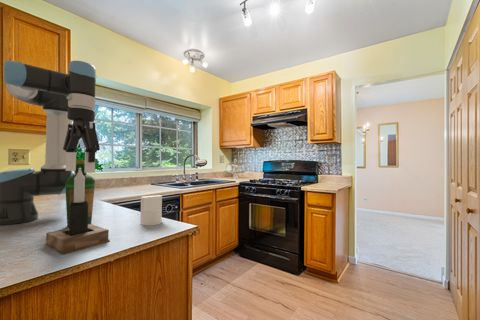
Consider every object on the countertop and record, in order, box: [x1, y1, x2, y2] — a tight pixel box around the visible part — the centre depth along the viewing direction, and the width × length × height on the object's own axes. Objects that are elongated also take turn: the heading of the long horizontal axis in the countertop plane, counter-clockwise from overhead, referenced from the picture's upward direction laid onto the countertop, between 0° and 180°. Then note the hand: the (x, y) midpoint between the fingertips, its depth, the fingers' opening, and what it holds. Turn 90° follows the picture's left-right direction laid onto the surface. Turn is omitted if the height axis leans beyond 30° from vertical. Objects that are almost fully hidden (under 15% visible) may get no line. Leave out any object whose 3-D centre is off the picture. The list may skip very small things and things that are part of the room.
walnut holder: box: [44, 223, 110, 255], centre depth 75 cm, size 14×14×4 cm
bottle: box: [65, 159, 96, 227], centre depth 96 cm, size 11×11×28 cm
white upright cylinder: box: [139, 194, 163, 226], centre depth 102 cm, size 9×9×12 cm
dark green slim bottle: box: [68, 168, 88, 236], centre depth 75 cm, size 5×5×25 cm
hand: (79, 171), depth 75 cm, fingers open, 13 cm apart
